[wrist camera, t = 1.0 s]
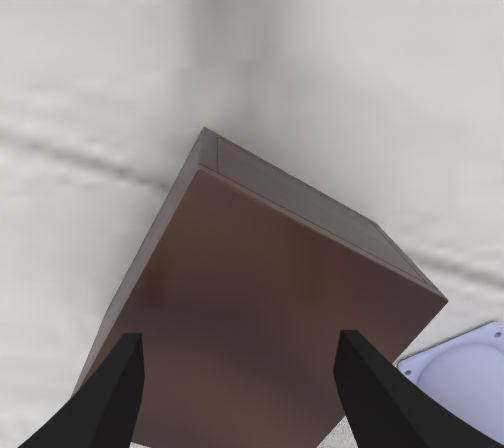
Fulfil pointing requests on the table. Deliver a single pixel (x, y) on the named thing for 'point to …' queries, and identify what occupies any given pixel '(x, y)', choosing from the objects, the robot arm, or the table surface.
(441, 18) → the table surface
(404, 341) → the cabinet
